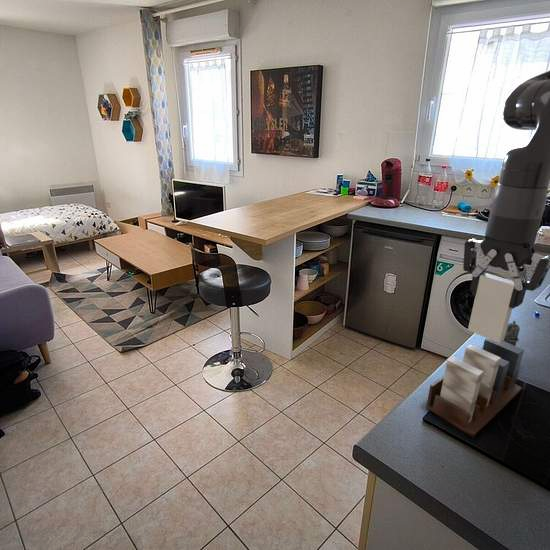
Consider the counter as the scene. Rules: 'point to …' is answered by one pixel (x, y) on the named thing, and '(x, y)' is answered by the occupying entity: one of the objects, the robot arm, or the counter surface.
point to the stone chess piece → (512, 333)
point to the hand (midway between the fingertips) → (493, 300)
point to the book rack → (476, 385)
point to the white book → (491, 307)
